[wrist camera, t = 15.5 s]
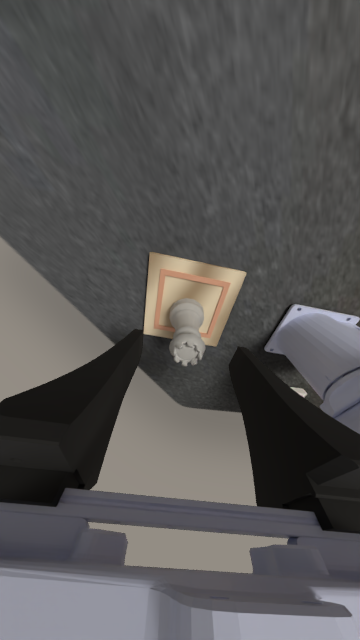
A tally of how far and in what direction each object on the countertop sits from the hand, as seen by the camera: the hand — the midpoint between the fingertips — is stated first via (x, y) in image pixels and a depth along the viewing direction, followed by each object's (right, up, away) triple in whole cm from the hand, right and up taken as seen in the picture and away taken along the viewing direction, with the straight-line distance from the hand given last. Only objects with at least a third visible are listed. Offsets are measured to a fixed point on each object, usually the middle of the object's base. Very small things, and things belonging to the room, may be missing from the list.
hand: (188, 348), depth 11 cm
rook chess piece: (0, +3, +8) cm, 9 cm away
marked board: (0, +4, +8) cm, 9 cm away
